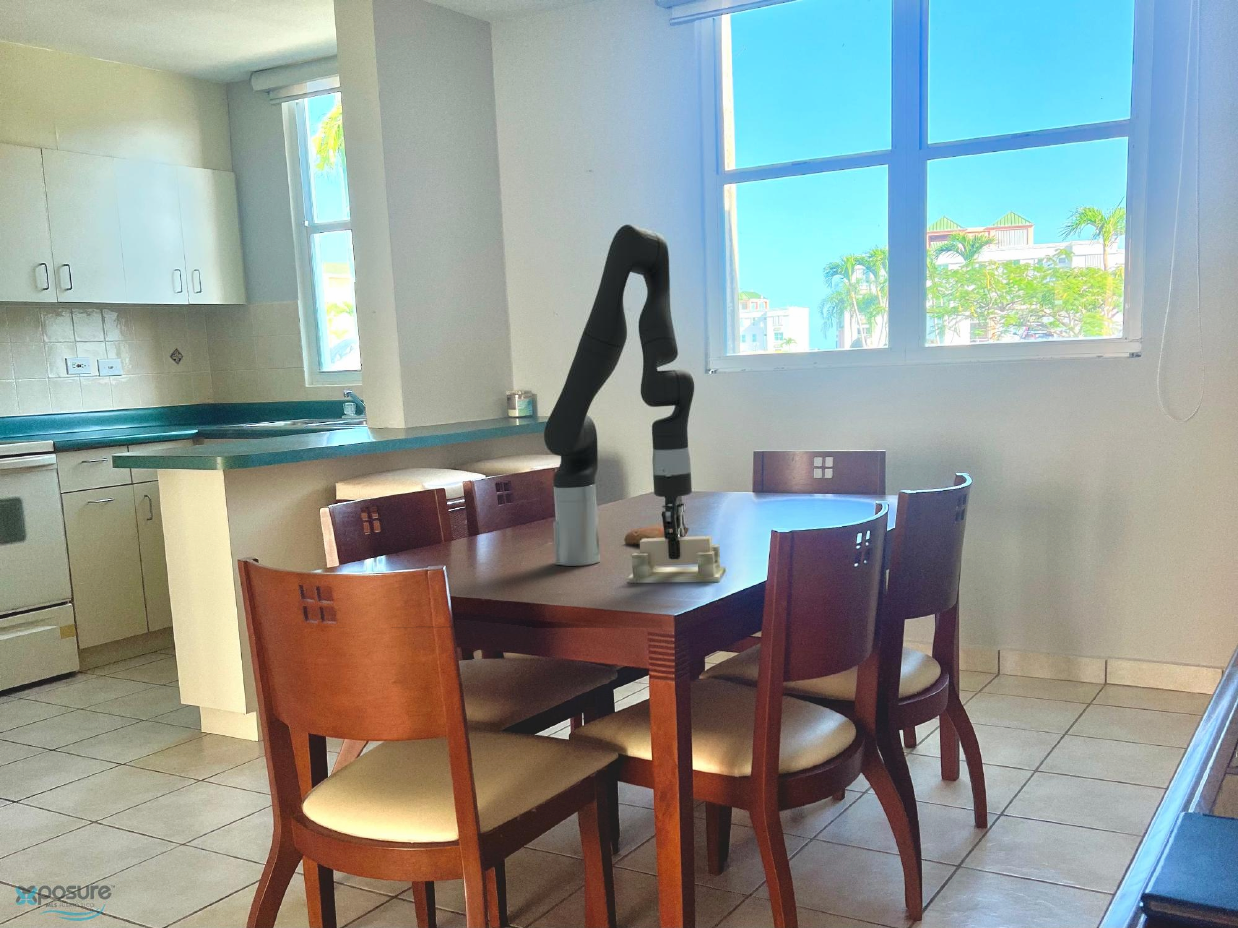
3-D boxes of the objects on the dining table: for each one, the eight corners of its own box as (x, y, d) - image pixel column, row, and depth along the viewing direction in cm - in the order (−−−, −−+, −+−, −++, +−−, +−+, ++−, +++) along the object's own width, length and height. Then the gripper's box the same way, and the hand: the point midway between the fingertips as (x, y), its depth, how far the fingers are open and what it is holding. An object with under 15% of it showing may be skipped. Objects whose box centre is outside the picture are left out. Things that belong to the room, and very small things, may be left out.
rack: (628, 582, 202) (626, 555, 202) (638, 572, 212) (637, 546, 212) (719, 581, 198) (717, 553, 198) (725, 571, 208) (724, 544, 207)
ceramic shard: (707, 521, 244) (658, 539, 236) (709, 546, 245) (661, 565, 237) (669, 508, 255) (620, 525, 247) (671, 533, 257) (623, 550, 249)
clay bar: (641, 566, 205) (639, 541, 204) (645, 562, 208) (643, 538, 208) (711, 563, 202) (709, 538, 201) (713, 560, 205) (711, 535, 205)
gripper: (659, 468, 211) (664, 550, 213) (646, 475, 197) (651, 564, 199) (695, 466, 209) (700, 550, 211) (684, 474, 196) (689, 563, 197)
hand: (676, 556), depth 205 cm, fingers closed on clay bar, 3 cm apart
